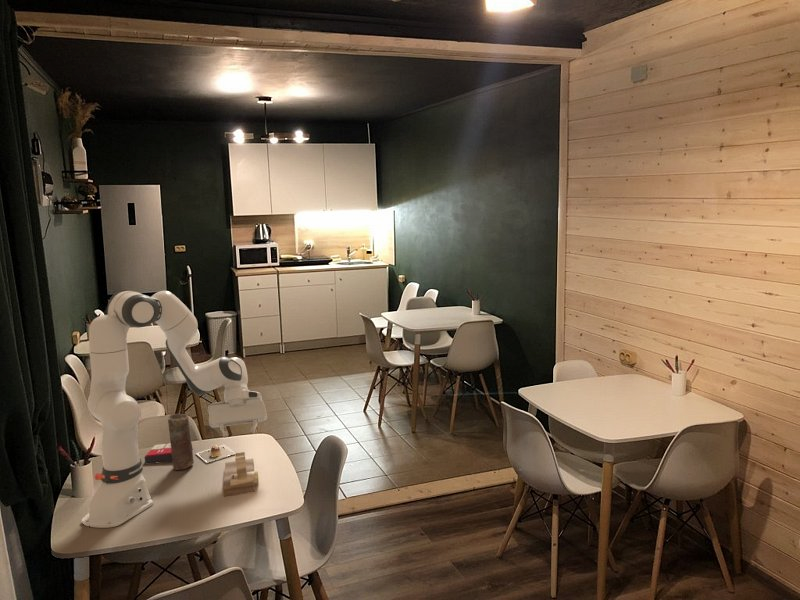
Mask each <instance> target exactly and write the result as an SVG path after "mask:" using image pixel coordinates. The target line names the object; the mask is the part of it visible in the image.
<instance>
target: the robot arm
mask: <svg viewBox="0 0 800 600" xmlns="http://www.w3.org/2000/svg"><path fill="white" fill-rule="evenodd" d="M153 323H155V324H157V325H158V326H159V328H160V329H161V330H162V331H163V332H164V335H165V337H166V339H165V346H166V349H167V351H168V353H169V355H170V356H171V358H172V360H173V361H174V363H175V364H176V367H177V368H178V369H179V370H180V372H181V375H182V376H183V377H184V379H185V381H186V384H187V386H188V388H189V390H190V391H191V392H192V393H194V394H196V395H198V396H205V395H207V394H209V393H210V392H212V391H213V390H215V389H218V388H220V387H224V391H223V396H224V398H223V399H224V400H223V401H217V402H215V401H213V402H211V404H209V405H208V406H207V413H208V425H209V427H211V428H212V429H214V428H219V430H220V431H221V432H222V436H223V438H228V437H229V436H228V430H225V427H228V426H230V427H231V426H236V425H244V424H252V423H253V426H251V427H250V434H256V428H257V426H258V425H259V424H258V423H260V422H265V421H267V419H268V414H267V408H266V405H265V402H264V400H262V399H263V397H262V394H261V392H258V391H252V390H249V388H248V383H249V378H248V377H249V375H248V370H247V367H246V366H247V365H246V363H245V361H244V359H242V358H240V357H236V356H235V357H233V356H232V357H228V356H221V357H219V358H217V359H214V360H212V361H210V362H208V363H205V364H203V365H197V364H195V362H194V361H193V359H192V358H191V356H190V354H189V353H188V351H187V349H186V347H187V346H188V345H189V344H190V343H191V341H192V340H193V339H194V337H195V336H196V334H197V331H198V328H199V326H198V320H197V318H196V316H195V315H194V314H193V313H192V311H191V310H190V309H189V307H187V305H186V304H184V303H183V302H182V301H181V300H180V298H179V297H177V296H176V295H175V294H174V293H172V292H171V291H169V290H160V291H157V292H155V293H154V294H152V295H151V296H149V295H146V294H143V293H141V292H139V291H135V290H128V289H126V290H120V291H117V292H115V293H114V294H113V295H112V296H111V297H110V299H109V300H108V302H107V306H106V308H105V310H104V312H103V315H99V316H97V317H95V318H94V319H93V320H92V321H91V323H90V325H89V333H88V335H89V336H88V344H89V345H88V347H89V349H88V350H89V360H90V371H91V372H90V373H91V375H90V376H91V378H90V379H91V380H90V381H91V382H90V388H89V389H90V390H89V396H88V398H87V402H86V403H87V407H88V410H89V412H90V414H91V415H92V416H93V417H94V418H95V419H96V420H98V421H100V423H101V426H102V439H101V442H100V453H101V459H102V464H103V466H102V470H101V473H95V474H94V480H95V481H101V482H100V483H99V485H98V486H97V488H96V490H95V492H94V493H93V495H92V496H91V498H90V499H89V501H88V513H87V514H86V515H85V516H83V517H82V518H81V524H82V523H83V524H84V526H86V527H89V526H90V527H91V528H101V529H106V528H114V527H117V526H118V527H119V526H120V525H122V524H123V523H125V522H127V521H128V520H131V519H132V518H133V517H135V516H137V515H138V514H140V513H142V512H143V511H145V510H147V509H148V508H150V507H151V506H153V505H154V502H153V500H152V497H151V495H150V492H149V489H148V484H147V481H146V479H145V477H144V474H143V462H142V459H141V457H140V452H139V443H138V427H139V426H138V425H139V422H140V420H141V416H142V410H141V406H140V405H139V403H138V402H137V400H136V399H135V398H133V397H132V396H130V395H128V394H127V392H126V383H127V382H126V381H127V377H128V375H129V373H130V365H129V363H130V362H129V352H128V342H127V335H128V331H129V329H130V328H131V327H133V328H144V327H148V326H149V325H152V324H153ZM83 524H82V525H83Z"/></svg>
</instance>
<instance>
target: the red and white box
mask: <svg viewBox="0 0 800 600" xmlns="http://www.w3.org/2000/svg"><path fill="white" fill-rule="evenodd" d="M191 444H192V445H193V443H192V442H191ZM193 450H194V449H193V447H192V451H193ZM144 462H145V464H146V463H149V464H157V463H156V462H164V463H171V462H172V463H173V460H172V452H171V442H170V443H160V444H155V445H154V446H152V448H150V450H149V451H148V452H147V453H146V454H145V456H144Z"/></svg>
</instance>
